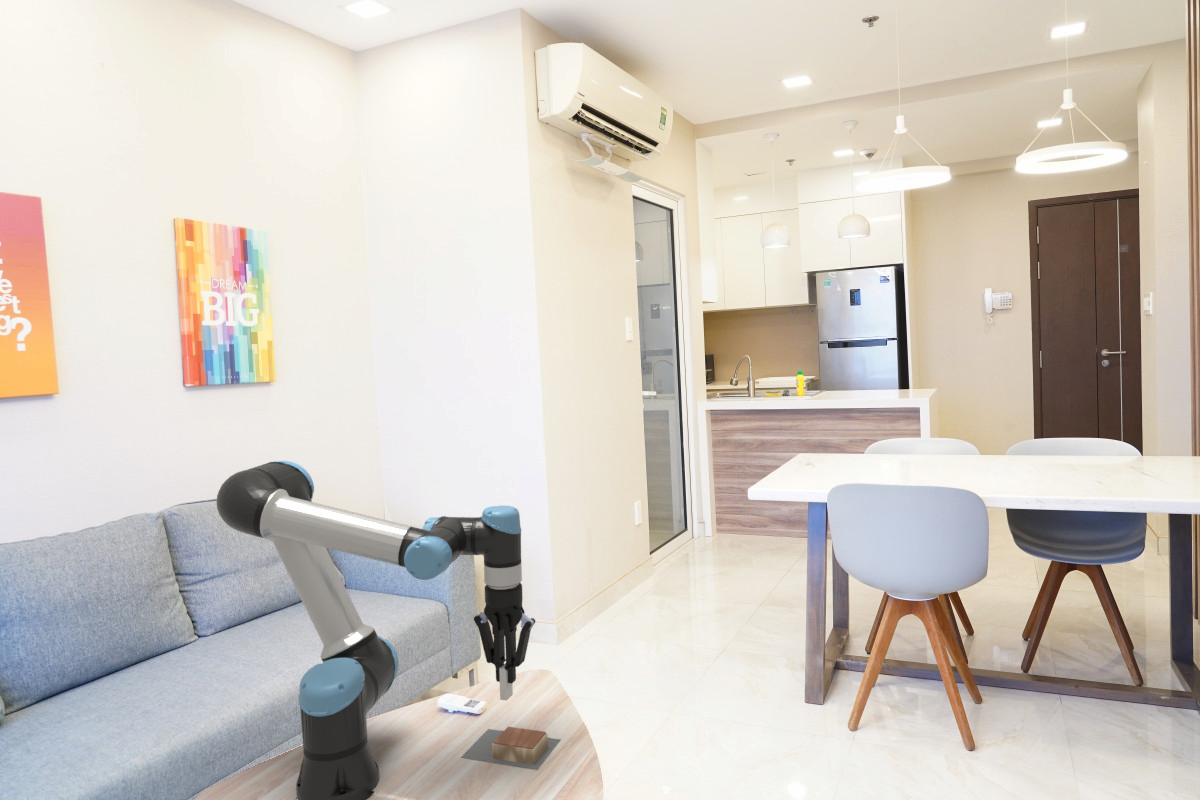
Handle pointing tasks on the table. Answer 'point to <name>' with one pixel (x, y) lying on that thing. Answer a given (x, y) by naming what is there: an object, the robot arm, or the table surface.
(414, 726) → the table surface
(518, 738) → the brown wooden block
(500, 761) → the mat
